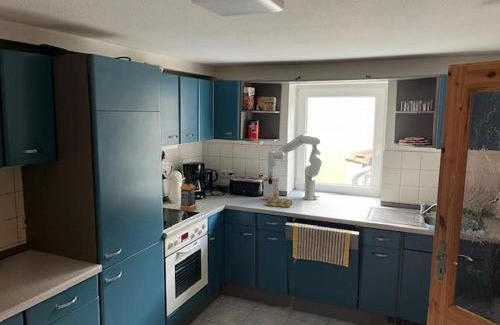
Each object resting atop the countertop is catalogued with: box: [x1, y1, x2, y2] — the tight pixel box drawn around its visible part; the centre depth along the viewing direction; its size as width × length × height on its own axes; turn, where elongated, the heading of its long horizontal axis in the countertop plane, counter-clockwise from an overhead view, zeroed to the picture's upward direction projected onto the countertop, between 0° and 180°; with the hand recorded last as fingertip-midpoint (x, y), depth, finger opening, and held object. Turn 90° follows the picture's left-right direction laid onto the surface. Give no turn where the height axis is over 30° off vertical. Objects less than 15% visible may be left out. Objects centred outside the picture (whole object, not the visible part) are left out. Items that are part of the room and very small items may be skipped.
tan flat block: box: [266, 198, 293, 209], centre depth 325 cm, size 20×14×4 cm
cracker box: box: [263, 176, 280, 201], centre depth 346 cm, size 14×6×21 cm, turn 84°
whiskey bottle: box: [179, 170, 197, 213], centre depth 303 cm, size 10×10×32 cm
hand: (271, 183), depth 345 cm, fingers open, 7 cm apart
